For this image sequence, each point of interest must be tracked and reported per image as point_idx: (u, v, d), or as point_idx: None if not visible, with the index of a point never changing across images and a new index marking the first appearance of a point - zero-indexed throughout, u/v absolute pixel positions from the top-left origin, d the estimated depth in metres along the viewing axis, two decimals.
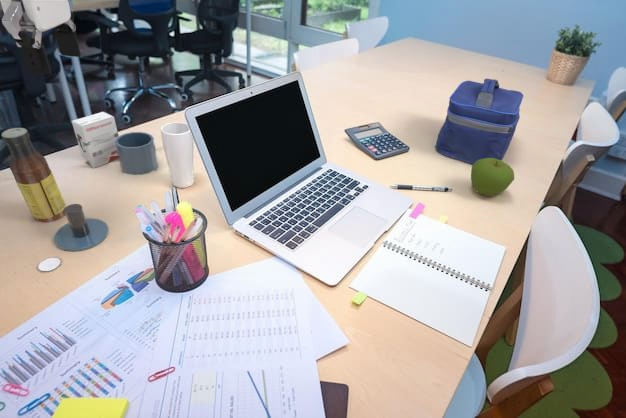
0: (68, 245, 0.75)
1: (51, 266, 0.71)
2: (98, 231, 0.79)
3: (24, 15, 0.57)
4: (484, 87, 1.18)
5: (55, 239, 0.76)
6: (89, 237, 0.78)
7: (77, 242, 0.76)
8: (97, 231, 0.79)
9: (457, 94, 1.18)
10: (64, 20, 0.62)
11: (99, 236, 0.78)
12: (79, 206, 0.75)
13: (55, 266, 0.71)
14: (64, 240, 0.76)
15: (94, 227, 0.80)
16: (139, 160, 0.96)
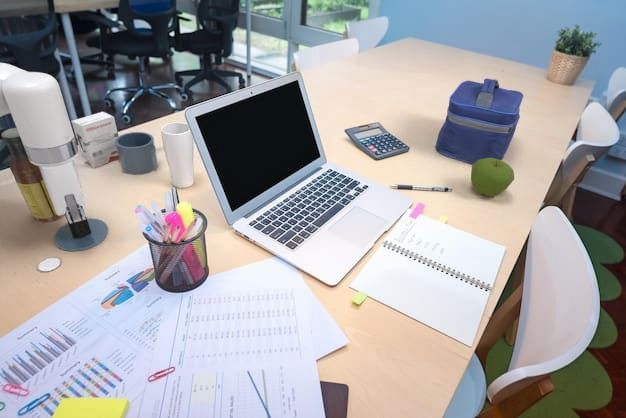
0: (68, 244, 0.75)
1: (51, 266, 0.71)
2: (98, 231, 0.79)
3: (66, 202, 0.70)
4: (484, 87, 1.18)
5: (55, 239, 0.76)
6: (89, 237, 0.78)
7: (77, 242, 0.76)
8: (97, 231, 0.79)
9: (457, 94, 1.18)
10: None
11: (99, 236, 0.78)
12: None
13: (55, 266, 0.71)
14: (64, 240, 0.76)
15: (94, 227, 0.80)
16: (139, 160, 0.96)
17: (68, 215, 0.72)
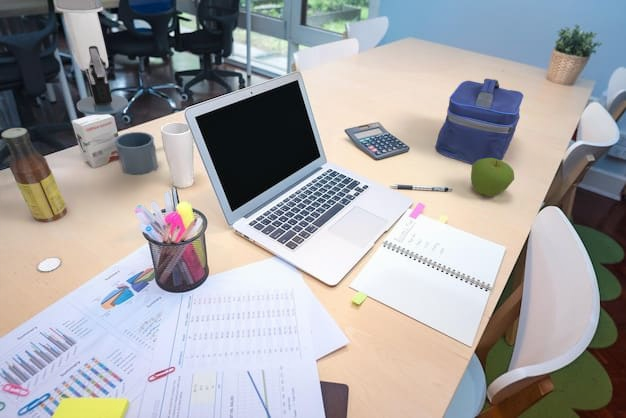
0: (91, 109, 0.78)
1: (51, 266, 0.71)
2: (119, 102, 0.82)
3: (90, 58, 0.73)
4: (484, 87, 1.18)
5: (78, 105, 0.79)
6: (110, 105, 0.80)
7: (99, 108, 0.79)
8: (118, 102, 0.82)
9: (457, 94, 1.18)
10: None
11: (120, 105, 0.81)
12: None
13: (55, 266, 0.71)
14: (86, 106, 0.79)
15: (115, 100, 0.83)
16: (139, 160, 0.96)
17: (91, 74, 0.74)
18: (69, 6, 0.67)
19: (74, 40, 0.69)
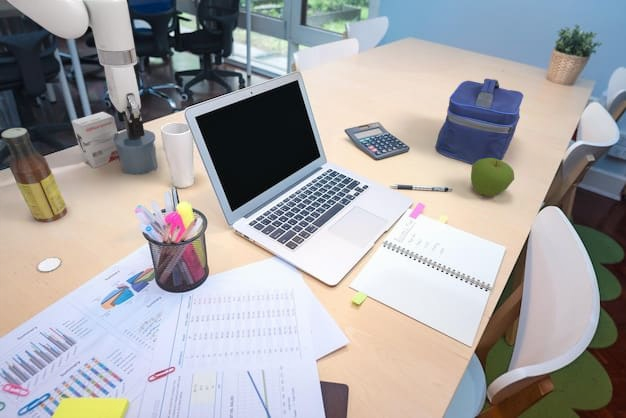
0: (126, 144, 0.94)
1: (51, 266, 0.71)
2: (147, 137, 0.97)
3: (126, 102, 0.88)
4: (484, 87, 1.18)
5: (114, 140, 0.95)
6: (141, 140, 0.96)
7: (132, 142, 0.94)
8: (147, 137, 0.97)
9: (457, 94, 1.18)
10: None
11: (149, 140, 0.96)
12: None
13: (55, 266, 0.71)
14: (122, 141, 0.95)
15: None
16: (139, 160, 0.96)
17: (128, 112, 0.88)
18: (112, 62, 0.82)
19: (115, 89, 0.85)
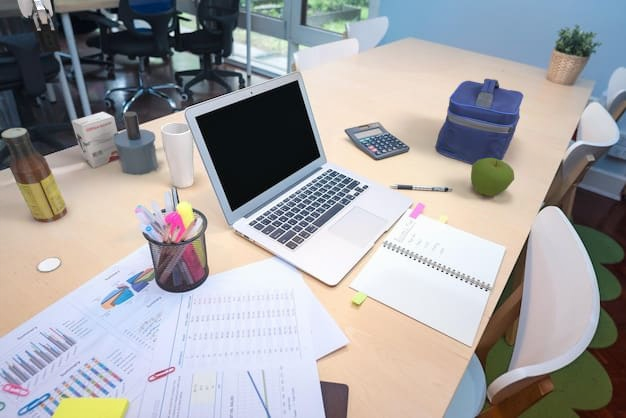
0: (126, 144, 0.94)
1: (51, 266, 0.71)
2: (147, 137, 0.97)
3: (33, 5, 0.73)
4: (484, 87, 1.18)
5: (114, 140, 0.95)
6: (141, 140, 0.96)
7: (132, 142, 0.94)
8: (147, 137, 0.97)
9: (457, 94, 1.18)
10: None
11: (149, 140, 0.96)
12: (134, 113, 0.94)
13: (55, 266, 0.71)
14: (122, 141, 0.95)
15: (144, 134, 0.98)
16: (139, 160, 0.96)
17: (35, 18, 0.73)
18: None
19: None
